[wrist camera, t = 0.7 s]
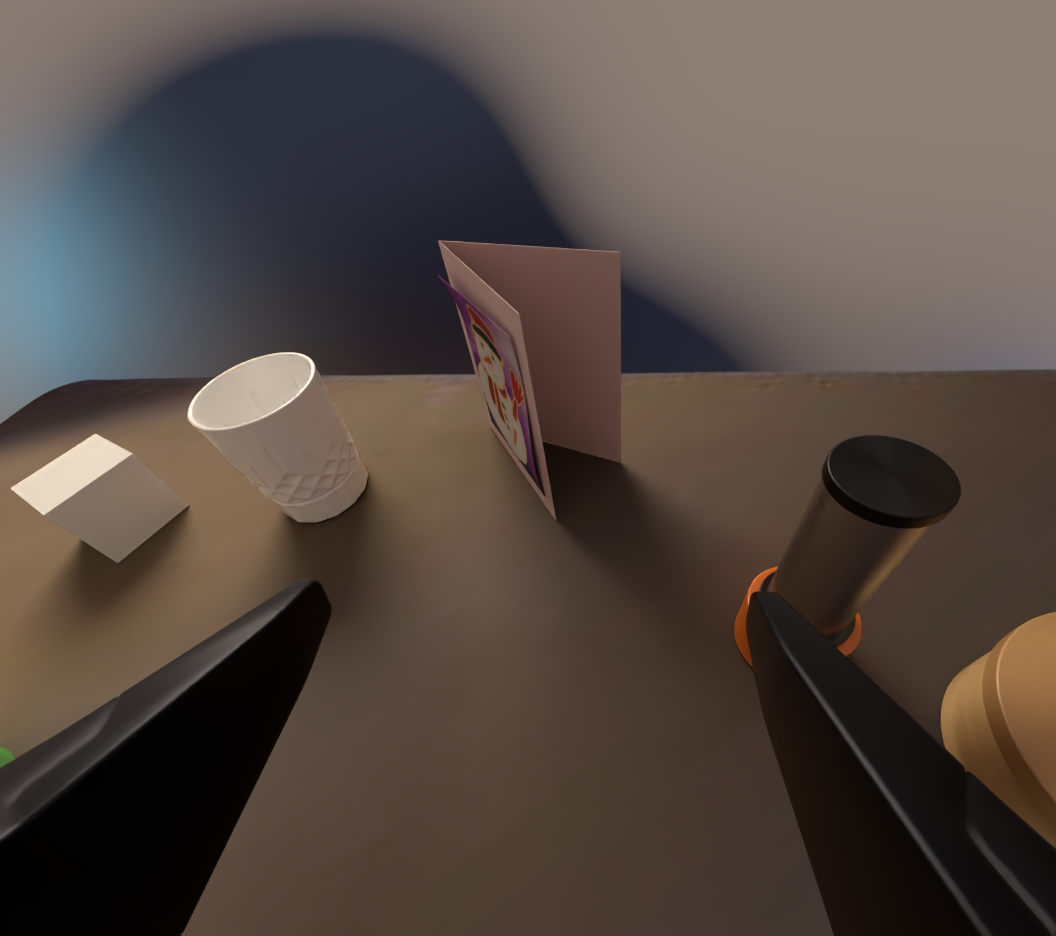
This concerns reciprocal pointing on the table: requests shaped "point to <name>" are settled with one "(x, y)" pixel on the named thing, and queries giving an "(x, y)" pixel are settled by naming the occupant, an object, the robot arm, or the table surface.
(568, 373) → the greeting card
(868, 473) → the torch
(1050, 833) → the birch box
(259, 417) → the white cup
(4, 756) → the wine bottle
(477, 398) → the table surface
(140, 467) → the cream cube
